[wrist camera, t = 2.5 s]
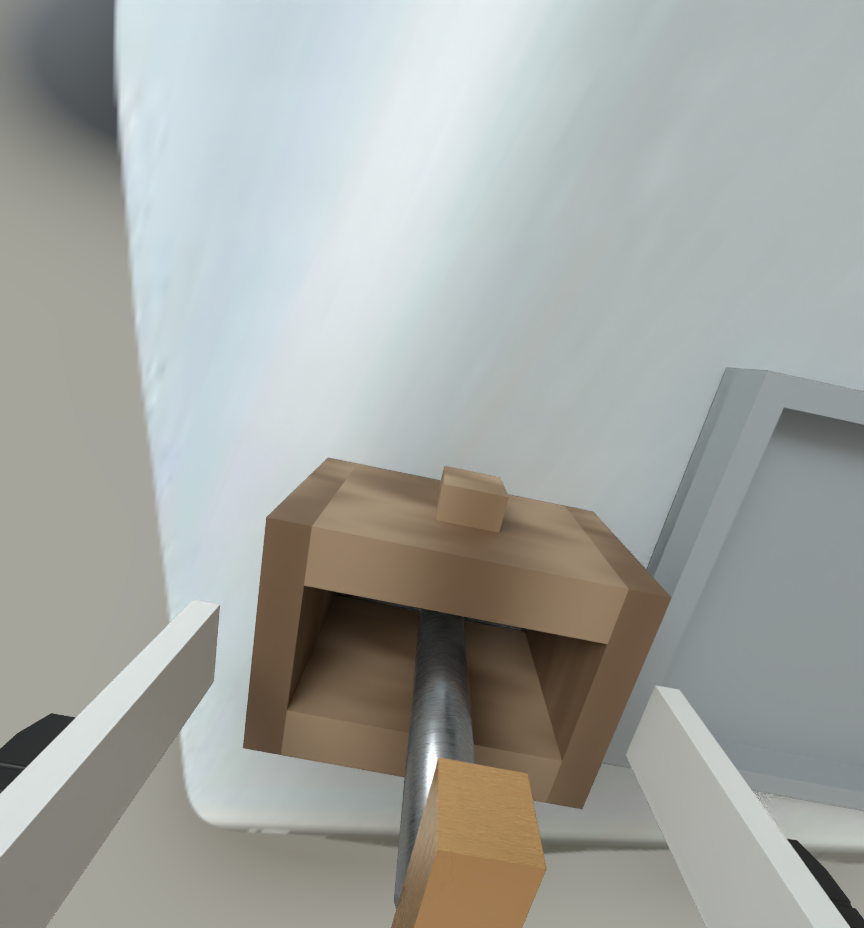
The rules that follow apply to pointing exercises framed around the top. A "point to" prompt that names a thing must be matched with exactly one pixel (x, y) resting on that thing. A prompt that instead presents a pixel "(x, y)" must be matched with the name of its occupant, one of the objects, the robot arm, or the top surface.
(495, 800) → the t-shaped peg
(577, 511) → the brown wooden open box
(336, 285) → the top surface
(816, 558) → the tray
